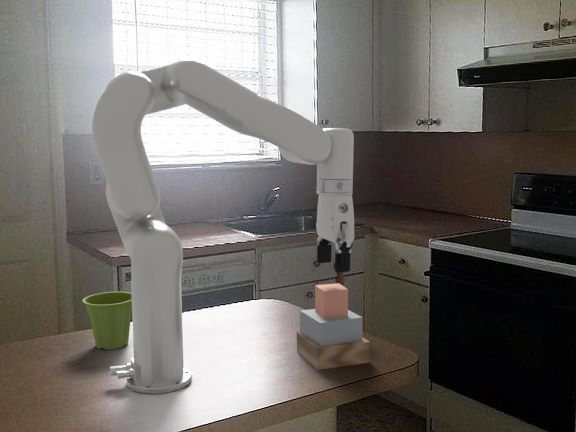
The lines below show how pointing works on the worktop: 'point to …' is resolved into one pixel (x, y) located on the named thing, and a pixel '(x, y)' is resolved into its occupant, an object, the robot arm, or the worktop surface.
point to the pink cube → (331, 301)
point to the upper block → (330, 328)
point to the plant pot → (110, 318)
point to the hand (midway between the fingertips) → (332, 266)
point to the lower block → (333, 352)
